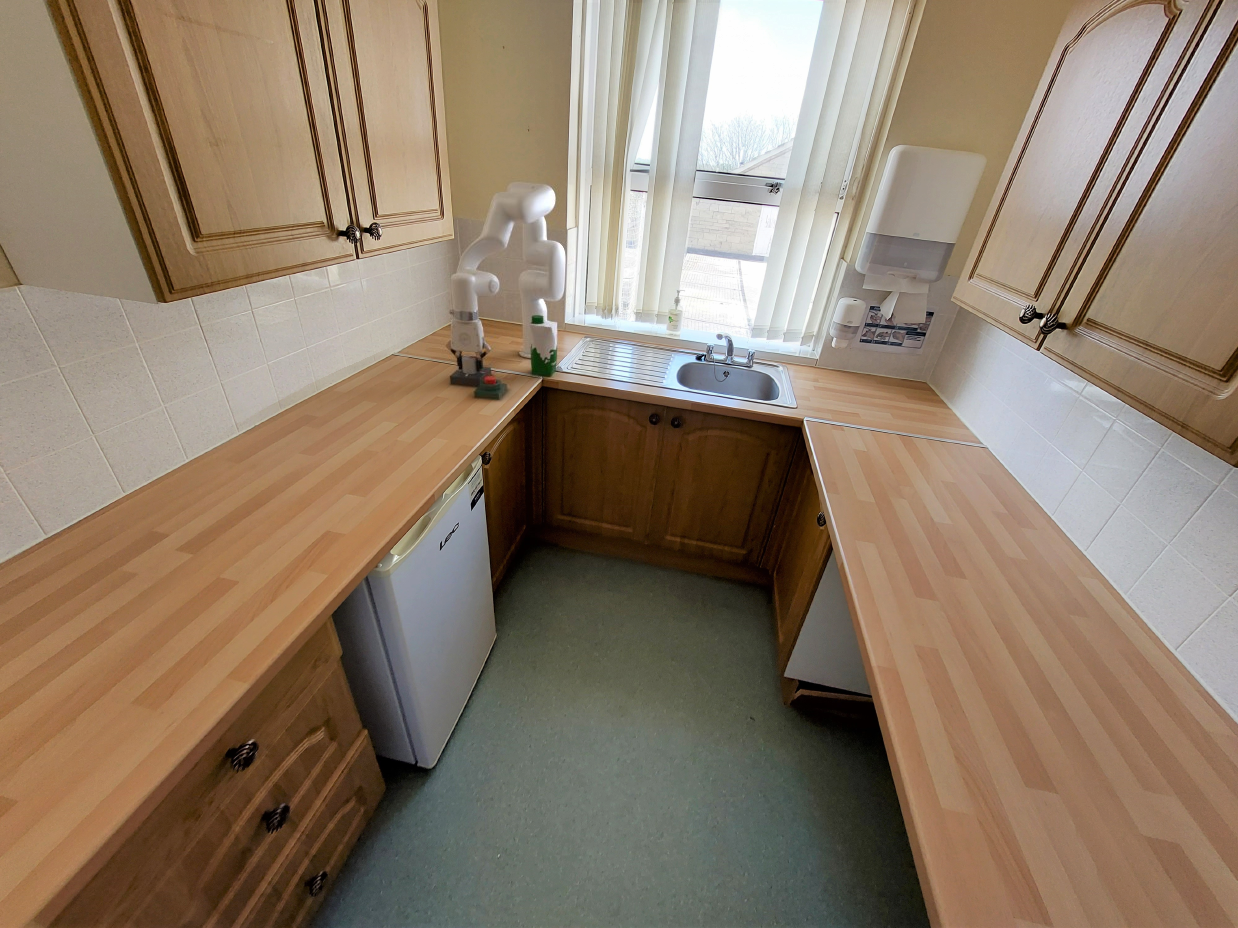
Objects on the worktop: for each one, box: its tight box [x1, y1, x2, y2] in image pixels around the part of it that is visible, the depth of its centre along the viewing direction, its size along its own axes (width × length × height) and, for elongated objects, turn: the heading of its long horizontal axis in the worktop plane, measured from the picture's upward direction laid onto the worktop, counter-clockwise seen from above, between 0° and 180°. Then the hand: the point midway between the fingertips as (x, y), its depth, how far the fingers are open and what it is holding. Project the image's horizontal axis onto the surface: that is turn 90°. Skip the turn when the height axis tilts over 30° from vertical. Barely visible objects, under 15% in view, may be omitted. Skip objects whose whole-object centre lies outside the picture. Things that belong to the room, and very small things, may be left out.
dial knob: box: [462, 354, 478, 374], centre depth 162 cm, size 5×5×5 cm
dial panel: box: [449, 366, 492, 388], centre depth 164 cm, size 12×10×3 cm
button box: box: [473, 378, 508, 401], centre depth 155 cm, size 9×8×4 cm
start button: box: [484, 375, 497, 384], centre depth 154 cm, size 4×4×2 cm
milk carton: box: [529, 315, 558, 378], centre depth 171 cm, size 9×9×20 cm
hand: (470, 369), depth 163 cm, fingers open, 5 cm apart
